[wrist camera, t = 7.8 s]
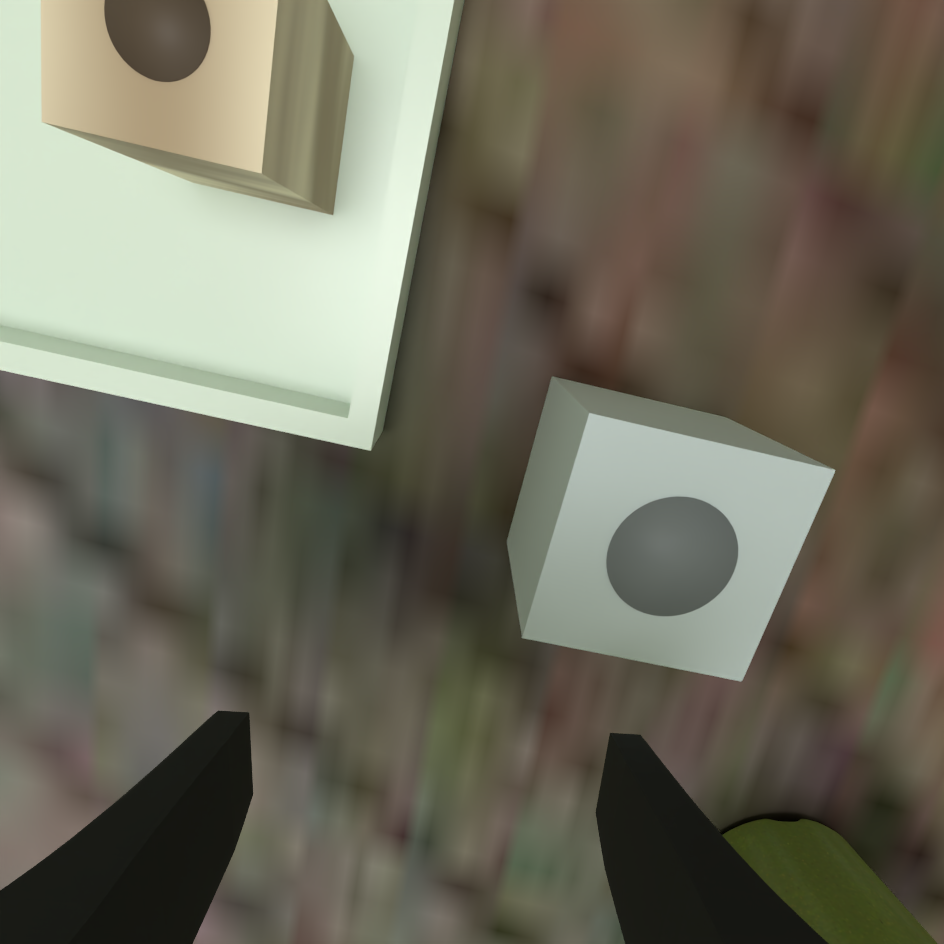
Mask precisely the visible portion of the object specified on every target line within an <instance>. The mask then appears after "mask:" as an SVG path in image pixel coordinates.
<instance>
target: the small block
mask: <svg viewBox="0 0 944 944" xmlns="http://www.w3.org/2000/svg"><path fill="white" fill-rule="evenodd" d="M353 61H354V55H353V53H352V51H351V49H350V46H349V44H348V42H347V40H346V38H345V36H344V34H343V32H342V30H341V28H340V25H339V23H338V21H337V19H336V17H335V15H334V13H333V11H332V9H331V7H330V4H329V2H328V0H41V106H42V122H43V123H46V124H48V125H50V126H53V127H55V128H58V129H60V130H63V131H65V132H68V133H70V134H73V135H75V136H78V137H80V138H83V139H85V140H88V141H90V142H93V143H95V144H98V145H100V146H103V147H105V148H108V149H110V150H113V151H115V152H118V153H120V154H123V155H125V156H128V157H130V158H133V159H135V160H138V161H140V162H143V163H145V164H147V165H150V166H152V167H155V168H157V169H160V170H162V171H165V172H167V173H170V174H172V175H175V176H177V177H180V178H182V179H185V180H187V181H190V182H192V183H196V184H201V185H205V186H209V187H214V188H218V189H222V190H227V191H231V192H235V193H239V194H244V195H248V196H252V197H257V198H261V199H265V200H270V201H274V202H278V203H283V204H287V205H291V206H295V207H300V208H304V209H308V210H313V211H317V212H321V213H326V214H330V215H333V213H334V205H335V198H336V190H337V182H338V175H339V167H340V160H341V152H342V144H343V137H344V129H345V122H346V114H347V106H348V99H349V91H350V84H351V76H352V68H353Z"/></svg>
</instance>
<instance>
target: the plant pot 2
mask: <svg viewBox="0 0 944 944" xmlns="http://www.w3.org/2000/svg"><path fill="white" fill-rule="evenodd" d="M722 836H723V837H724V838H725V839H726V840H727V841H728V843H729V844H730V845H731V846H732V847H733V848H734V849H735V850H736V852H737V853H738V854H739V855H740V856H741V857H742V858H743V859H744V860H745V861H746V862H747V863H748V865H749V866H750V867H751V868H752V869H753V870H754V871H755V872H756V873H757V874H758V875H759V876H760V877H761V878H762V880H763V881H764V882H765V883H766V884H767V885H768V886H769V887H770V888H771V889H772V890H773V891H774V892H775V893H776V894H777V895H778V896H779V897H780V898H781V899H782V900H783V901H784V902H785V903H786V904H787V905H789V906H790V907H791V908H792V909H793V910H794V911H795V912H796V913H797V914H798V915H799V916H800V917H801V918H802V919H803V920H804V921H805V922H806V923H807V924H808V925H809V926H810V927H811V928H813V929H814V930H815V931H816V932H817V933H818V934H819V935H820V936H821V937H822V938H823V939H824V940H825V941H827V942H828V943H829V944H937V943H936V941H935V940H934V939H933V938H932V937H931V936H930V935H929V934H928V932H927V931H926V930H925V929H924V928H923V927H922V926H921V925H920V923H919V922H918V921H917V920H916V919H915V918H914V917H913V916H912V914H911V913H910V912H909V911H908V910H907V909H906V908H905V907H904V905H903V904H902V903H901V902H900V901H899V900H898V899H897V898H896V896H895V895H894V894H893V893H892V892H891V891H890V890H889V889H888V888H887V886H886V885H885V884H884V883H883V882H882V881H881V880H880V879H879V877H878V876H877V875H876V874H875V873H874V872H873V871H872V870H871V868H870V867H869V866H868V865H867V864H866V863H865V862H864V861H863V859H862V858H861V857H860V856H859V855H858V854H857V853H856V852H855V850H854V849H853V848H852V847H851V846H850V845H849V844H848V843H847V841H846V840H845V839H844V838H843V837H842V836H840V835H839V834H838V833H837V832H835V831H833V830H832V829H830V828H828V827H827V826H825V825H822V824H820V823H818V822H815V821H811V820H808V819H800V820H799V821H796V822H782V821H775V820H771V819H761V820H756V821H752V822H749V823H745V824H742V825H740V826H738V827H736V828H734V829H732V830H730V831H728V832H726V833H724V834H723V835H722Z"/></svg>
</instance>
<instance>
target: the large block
mask: <svg viewBox="0 0 944 944" xmlns="http://www.w3.org/2000/svg"><path fill="white" fill-rule="evenodd" d="M834 473H835V470H834V469H832V468H830V467H828V466H826V465H824V464H822V463H820V462H818V461H816V460H814V459H812V458H809V457H807V456H805V455H803V454H801V453H799V452H797V451H795V450H793V449H791V448H789V447H787V446H785V445H782V444H780V443H778V442H776V441H774V440H772V439H770V438H768V437H766V436H764V435H762V434H760V433H758V432H755V431H753V430H751V429H749V428H747V427H745V426H743V425H741V424H739V423H737V422H735V421H733V420H730V419H728V418H726V417H723V416H719V415H714V414H710V413H706V412H702V411H697V410H693V409H689V408H685V407H680V406H676V405H672V404H668V403H663V402H659V401H655V400H651V399H646V398H642V397H638V396H634V395H629V394H625V393H621V392H617V391H613V390H608V389H604V388H600V387H596V386H591V385H587V384H583V383H579V382H574V381H570V380H566V379H562V378H557V377H553V376H552V378H551V381H550V385H549V389H548V392H547V396H546V400H545V403H544V407H543V411H542V414H541V418H540V422H539V425H538V429H537V432H536V436H535V440H534V443H533V447H532V451H531V454H530V458H529V462H528V465H527V469H526V473H525V476H524V480H523V484H522V487H521V491H520V495H519V498H518V502H517V505H516V509H515V513H514V516H513V520H512V524H511V527H510V531H509V535H508V538H507V547H508V553H509V560H510V566H511V572H512V578H513V584H514V591H515V597H516V603H517V609H518V616H519V622H520V628H521V634H522V638H525V639H530V640H535V641H540V642H545V643H550V644H555V645H560V646H565V647H570V648H575V649H580V650H585V651H590V652H595V653H600V654H605V655H610V656H615V657H620V658H626V659H631V660H636V661H641V662H646V663H651V664H656V665H661V666H666V667H671V668H676V669H681V670H686V671H691V672H696V673H701V674H706V675H711V676H716V677H721V678H726V679H731V680H736V681H741V682H742V680H743V678H744V676H745V673H746V671H747V669H748V667H749V664H750V662H751V660H752V658H753V655H754V653H755V651H756V649H757V646H758V644H759V642H760V640H761V637H762V635H763V633H764V631H765V628H766V626H767V624H768V622H769V619H770V617H771V615H772V613H773V610H774V608H775V606H776V604H777V601H778V599H779V597H780V594H781V592H782V590H783V588H784V585H785V583H786V581H787V579H788V576H789V574H790V572H791V570H792V567H793V565H794V563H795V561H796V558H797V556H798V554H799V552H800V549H801V547H802V545H803V543H804V540H805V538H806V536H807V534H808V531H809V529H810V527H811V525H812V522H813V520H814V518H815V516H816V513H817V511H818V509H819V507H820V504H821V502H822V500H823V498H824V495H825V493H826V491H827V489H828V486H829V484H830V482H831V479H832V477H833V475H834Z"/></svg>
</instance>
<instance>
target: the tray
mask: <svg viewBox="0 0 944 944" xmlns="http://www.w3.org/2000/svg"><path fill="white" fill-rule="evenodd" d="M464 1H465V0H328V2H329V4H330V7H331V9H332V11H333V13H334V15H335V17H336V19H337V21H338V23H339V25H340V28H341V30H342V32H343V34H344V36H345V38H346V40H347V42H348V44H349V46H350V49H351V51H352V53H353V55H354V61H353V68H352V76H351V84H350V91H349V99H348V106H347V114H346V122H345V129H344V137H343V144H342V152H341V160H340V167H339V175H338V182H337V190H336V198H335V205H334V213H333V215H330V214H326V213H321V212H317V211H313V210H308V209H304V208H300V207H295V206H291V205H287V204H283V203H278V202H274V201H270V200H265V199H261V198H257V197H252V196H248V195H244V194H239V193H235V192H231V191H227V190H222V189H218V188H214V187H209V186H205V185H201V184H196V183H192V182H190V181H187V180H185V179H182V178H180V177H177V176H175V175H172V174H170V173H167V172H165V171H162V170H160V169H157V168H155V167H152V166H150V165H147V164H145V163H143V162H140V161H138V160H135V159H133V158H130V157H128V156H125V155H123V154H120V153H118V152H115V151H113V150H110V149H108V148H105V147H103V146H100V145H98V144H95V143H93V142H90V141H88V140H85V139H83V138H80V137H78V136H75V135H73V134H70V133H68V132H65V131H63V130H60V129H58V128H55V127H53V126H50V125H48V124H46V123H43V122H42V106H41V0H0V370H3V371H8V372H12V373H17V374H21V375H26V376H30V377H35V378H40V379H44V380H49V381H53V382H58V383H62V384H67V385H72V386H76V387H81V388H85V389H90V390H95V391H99V392H104V393H108V394H113V395H117V396H122V397H127V398H131V399H136V400H140V401H145V402H149V403H154V404H159V405H163V406H168V407H172V408H177V409H182V410H186V411H191V412H195V413H200V414H204V415H209V416H214V417H218V418H223V419H227V420H232V421H237V422H241V423H246V424H250V425H255V426H259V427H264V428H269V429H273V430H278V431H282V432H287V433H291V434H296V435H301V436H305V437H310V438H314V439H319V440H324V441H328V442H333V443H337V444H342V445H346V446H351V447H356V448H360V449H365V450H369V451H371V450H372V448H373V446H374V445H375V443H376V441H377V440H378V438H379V437H380V435H381V433H382V432H383V428H384V423H385V417H386V412H387V407H388V401H389V396H390V391H391V386H392V380H393V375H394V370H395V365H396V359H397V354H398V349H399V343H400V338H401V333H402V328H403V322H404V317H405V312H406V307H407V301H408V296H409V291H410V285H411V280H412V275H413V270H414V264H415V259H416V254H417V249H418V243H419V238H420V233H421V227H422V222H423V217H424V212H425V206H426V201H427V196H428V191H429V185H430V180H431V175H432V169H433V164H434V159H435V154H436V148H437V143H438V138H439V133H440V127H441V122H442V117H443V111H444V106H445V101H446V96H447V90H448V85H449V80H450V75H451V69H452V64H453V59H454V53H455V48H456V43H457V38H458V32H459V27H460V22H461V17H462V11H463V6H464Z"/></svg>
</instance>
